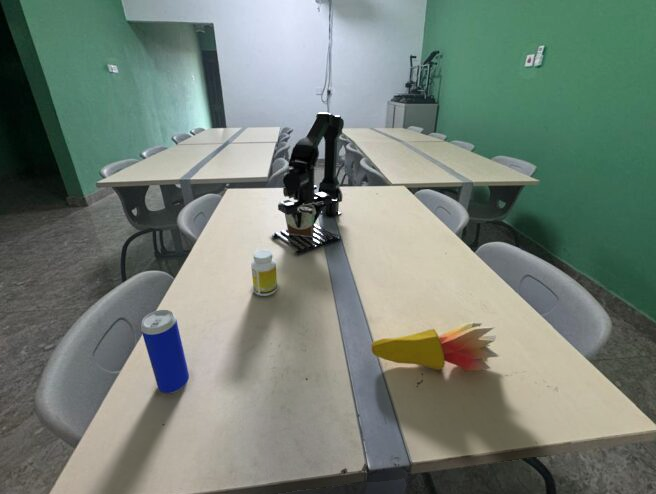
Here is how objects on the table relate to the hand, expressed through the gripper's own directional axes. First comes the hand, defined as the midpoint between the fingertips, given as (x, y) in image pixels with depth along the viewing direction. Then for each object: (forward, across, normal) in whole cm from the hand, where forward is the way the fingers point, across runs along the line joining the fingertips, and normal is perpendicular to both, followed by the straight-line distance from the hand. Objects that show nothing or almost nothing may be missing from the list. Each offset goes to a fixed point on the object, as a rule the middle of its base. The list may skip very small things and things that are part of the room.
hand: (306, 225), depth 110 cm
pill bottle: (+5, +26, +18) cm, 32 cm away
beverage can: (+5, +53, +33) cm, 63 cm away
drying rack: (+5, 0, 0) cm, 5 cm away
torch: (+5, +11, +60) cm, 61 cm away
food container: (+3, 0, -1) cm, 3 cm away
